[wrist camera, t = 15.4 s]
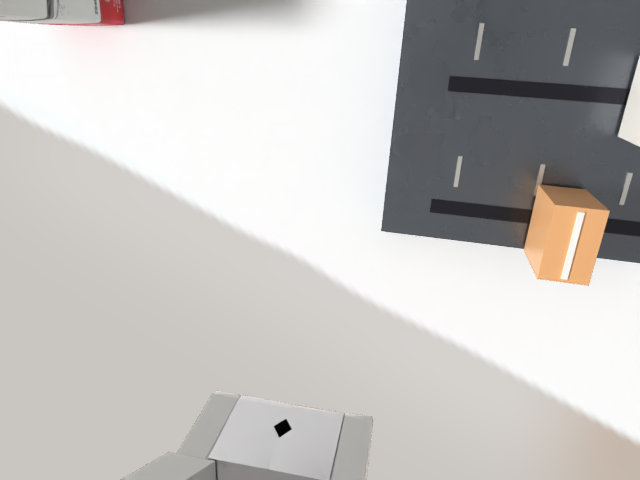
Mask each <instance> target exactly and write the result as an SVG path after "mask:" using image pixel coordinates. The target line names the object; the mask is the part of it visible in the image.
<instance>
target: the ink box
mask: <svg viewBox="0 0 640 480" xmlns="http://www.w3.org/2000/svg"><path fill="white" fill-rule="evenodd" d="M0 21H10V22H19V23H33V24H50V25H122V24H124V23H125V21H124V11H123V3H122V0H0Z"/></svg>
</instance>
